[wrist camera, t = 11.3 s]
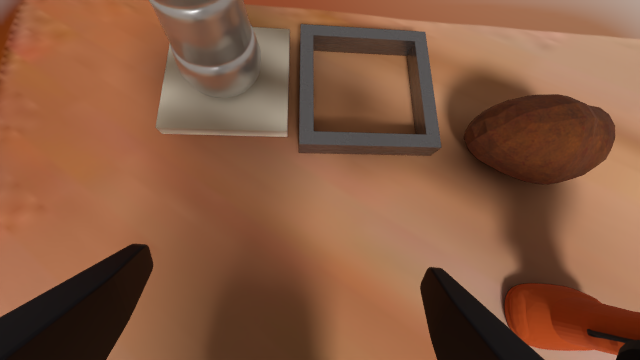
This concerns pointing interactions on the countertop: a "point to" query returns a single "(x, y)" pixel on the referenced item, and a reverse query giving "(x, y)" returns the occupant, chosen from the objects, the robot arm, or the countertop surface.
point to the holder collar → (369, 43)
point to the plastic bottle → (211, 44)
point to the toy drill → (571, 321)
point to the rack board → (234, 112)
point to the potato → (541, 138)
